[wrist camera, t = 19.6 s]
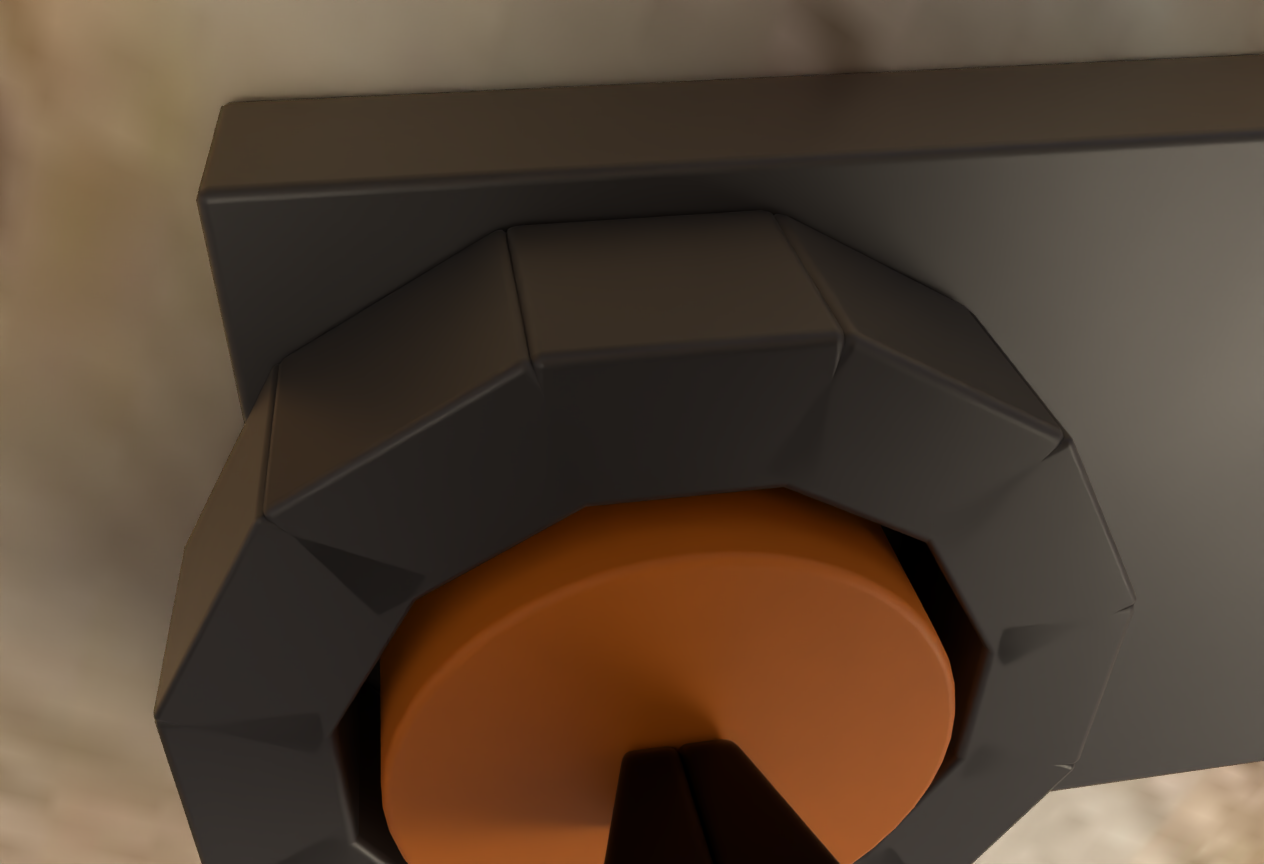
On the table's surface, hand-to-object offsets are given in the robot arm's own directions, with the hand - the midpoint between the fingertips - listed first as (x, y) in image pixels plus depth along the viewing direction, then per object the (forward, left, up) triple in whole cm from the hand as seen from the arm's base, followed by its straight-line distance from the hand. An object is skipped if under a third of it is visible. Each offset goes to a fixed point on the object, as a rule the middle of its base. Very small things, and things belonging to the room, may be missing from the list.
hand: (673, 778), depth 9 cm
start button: (0, 0, -2) cm, 2 cm away
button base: (+3, 0, -4) cm, 5 cm away
